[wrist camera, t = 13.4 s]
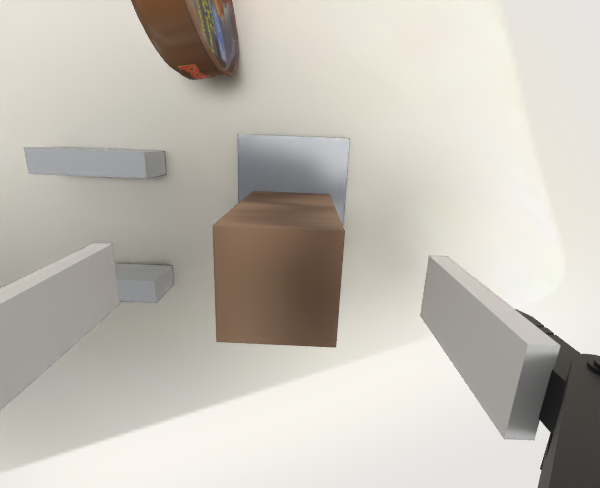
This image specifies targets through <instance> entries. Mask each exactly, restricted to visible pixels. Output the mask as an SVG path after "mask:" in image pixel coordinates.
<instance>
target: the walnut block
mask: <svg viewBox="0 0 600 488" xmlns="http://www.w3.org/2000/svg"><path fill="white" fill-rule="evenodd" d="M344 234H345V230H344V228H343V225H342V223H341V221H340V218H339V216H338V213H337V211H336V208H335V206H334V203H333V201H332V199H331V196H330V194H317V193H293V192H268V191H252V192H251V193H250V194H249V195H248V196H246V197H245V198H244V199H243V200H242V201H241V202H239V203H238V204H237V205H236V206H235V207H234V208H233V209H231V210H230V211H229V212H228V213H227V214H226V215H224V216H223V217H222V218H221V219H220V220H219V221H217V222H216V223H215V224H214V225H213V248H214V279H215V310H216V341H217V342H230V343H252V344H273V345H295V346H316V347H336V341H337V328H338V314H339V301H340V288H341V274H342V261H343V248H344Z"/></svg>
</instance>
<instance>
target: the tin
mask: <svg viewBox="0 0 600 488" xmlns="http://www.w3.org/2000/svg"><path fill="white" fill-rule="evenodd" d="M131 2H132V4H133V6H134V9H135V11H136V13H137V16H138V18H139V20H140V22H141V24H142V25H143V27H144V29H145V31H146V33H147V35H148V37H149V39H150V40H151V42H152V44H153V45H154V47H155V48H156V50H157V51H158V53H159V54H160V56H161V57H162V58H163V60H164V61H165V62H166V63H167V64H168V65H169V66H170V67H171V68H173V69H174V70H176V71H177V72H179V73H180V74H181V75H183V76H184V77H186V78H188V79H192V80H197V79H204V78H208V77H213V76H218V75H224V74H225V75H228V76H231V75H233V74H234V73H235V71H236V68H237V64H238V36H237V29H236V22H235V16H234V10H233V4H232V0H131Z"/></svg>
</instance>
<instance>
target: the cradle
mask: <svg viewBox="0 0 600 488" xmlns="http://www.w3.org/2000/svg"><path fill="white" fill-rule="evenodd" d="M24 150H25V156H26V161H27V167H28V173H29V174H45V175H69V176H94V177H118V178H143V179H147V178H151V177H156V176H161V175H165V174H166V164H165V151H148V150H123V149H97V148H72V147H28V148H24ZM115 271H116V279H117V288H118V296H119V301H129V302H151V303H157V302H158V301H159V300H160V299H161V298H162V297H163V295H164V294H165V293H166V292H167V291H168V290H169V289H170V288H171V287H172V286H173V285H174V283H173V268H172V266H170V265H147V264H124V263H115Z"/></svg>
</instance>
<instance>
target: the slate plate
mask: <svg viewBox="0 0 600 488" xmlns="http://www.w3.org/2000/svg"><path fill="white" fill-rule="evenodd" d="M349 140H350V138H329V137H303V136H278V135H252V134H238V203H239V202H241V201H242V200H243V199H244V198H245V197H246V196H248V195H249V194H250V193H251V192H252V191H268V192H293V193H317V194H330V196H331V199H332V201H333V203H334V206H335V208H336V211H337V213H338V216H339V218H340V221H341V223H342V225H343V222H344V208H345V195H346V181H347V167H348V154H349Z"/></svg>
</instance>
